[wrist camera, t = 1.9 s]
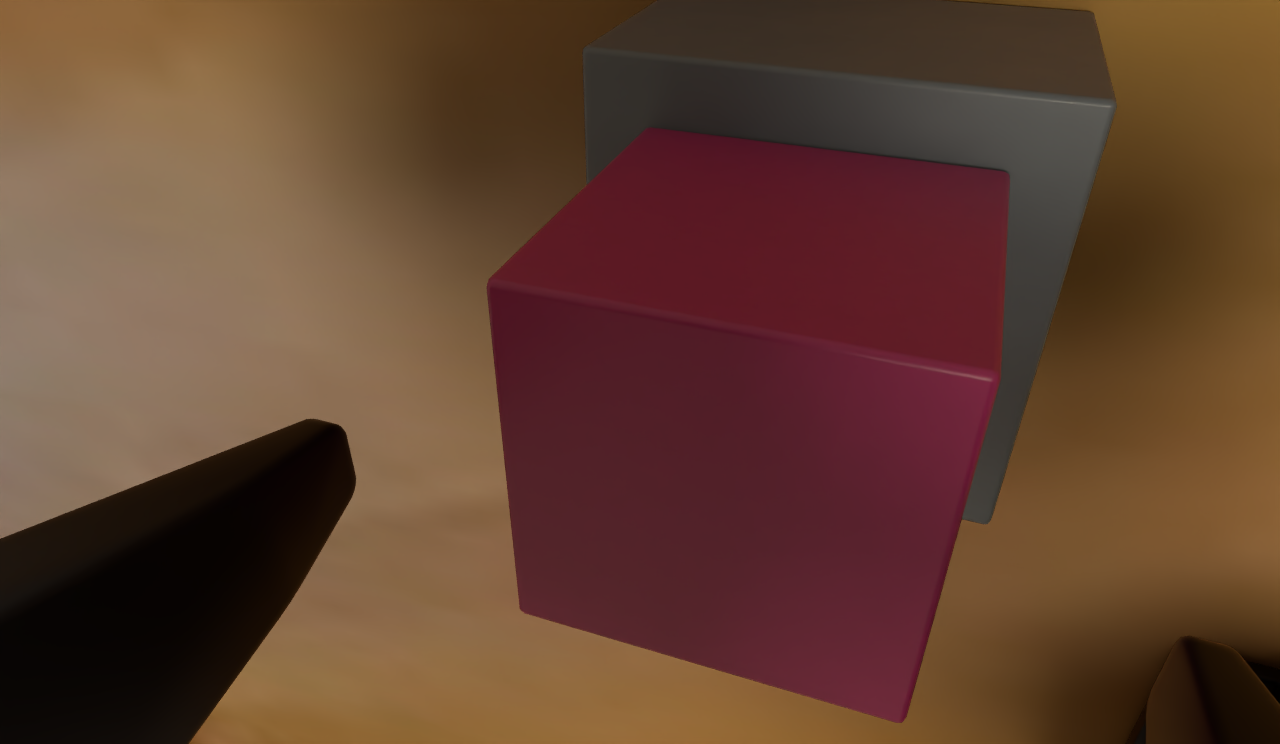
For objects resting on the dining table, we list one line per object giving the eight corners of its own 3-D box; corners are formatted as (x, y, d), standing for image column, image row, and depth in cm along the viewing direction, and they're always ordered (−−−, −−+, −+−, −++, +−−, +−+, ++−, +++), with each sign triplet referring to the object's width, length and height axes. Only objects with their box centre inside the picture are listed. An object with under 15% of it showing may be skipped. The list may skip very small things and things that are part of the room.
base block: (998, 367, 19) (989, 528, 15) (675, 308, 21) (592, 436, 17) (1095, 10, 15) (1119, 101, 11) (685, -21, 17) (579, 46, 13)
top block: (937, 466, 14) (904, 727, 11) (643, 404, 16) (517, 614, 12) (1012, 170, 12) (1004, 376, 8) (645, 124, 13) (481, 279, 9)
